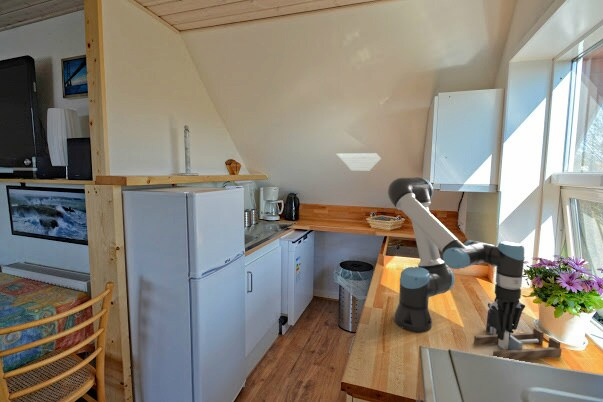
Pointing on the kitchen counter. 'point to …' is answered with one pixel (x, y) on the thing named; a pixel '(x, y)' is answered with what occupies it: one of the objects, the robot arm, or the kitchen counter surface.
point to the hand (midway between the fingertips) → (502, 347)
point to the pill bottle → (490, 325)
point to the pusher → (519, 343)
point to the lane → (522, 354)
